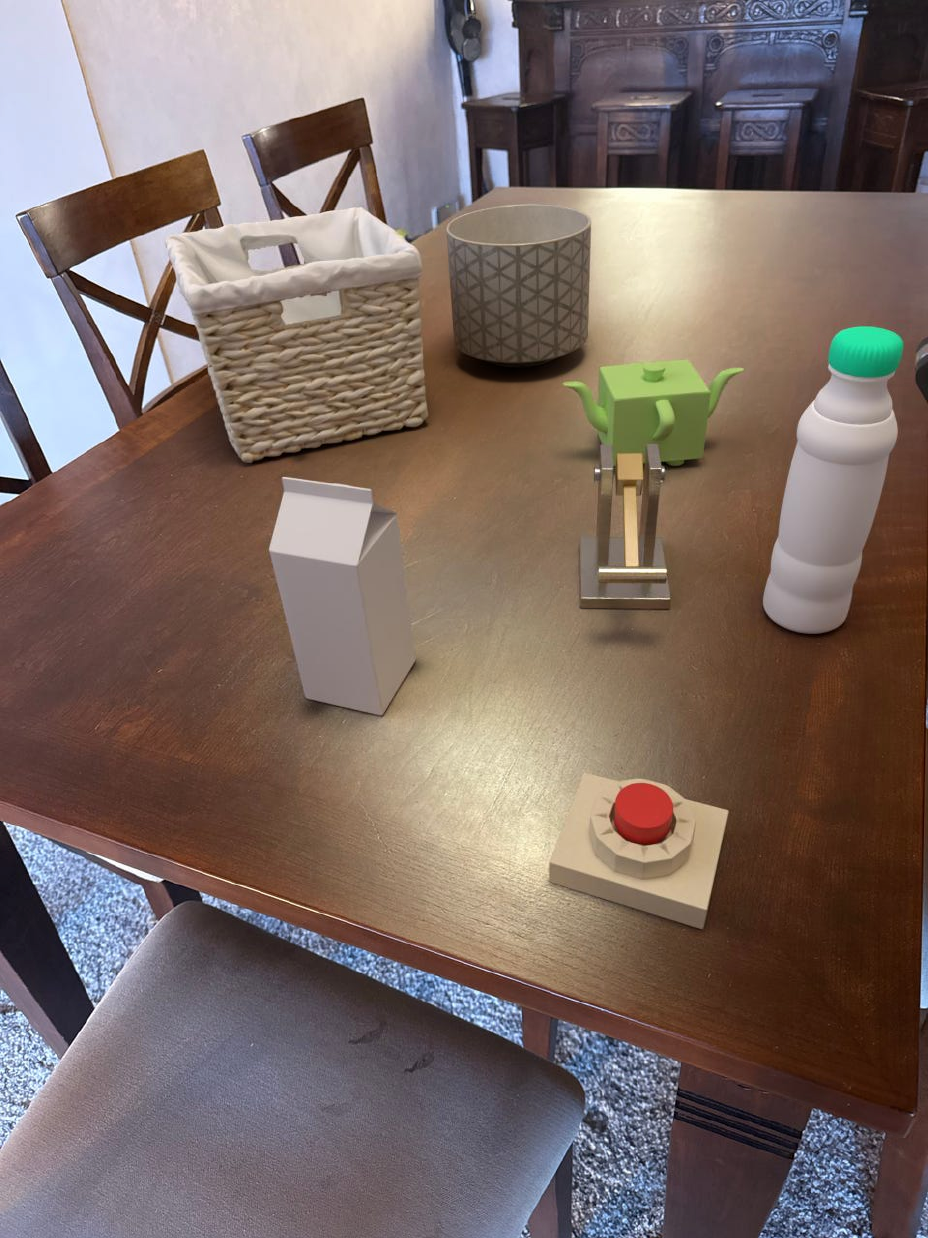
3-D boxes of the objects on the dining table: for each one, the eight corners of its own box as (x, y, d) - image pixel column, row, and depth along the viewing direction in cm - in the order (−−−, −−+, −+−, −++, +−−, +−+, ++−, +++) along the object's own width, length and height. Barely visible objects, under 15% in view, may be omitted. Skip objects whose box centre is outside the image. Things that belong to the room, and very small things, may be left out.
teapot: (733, 444, 101) (746, 356, 94) (681, 495, 93) (691, 403, 86) (618, 415, 108) (622, 331, 102) (560, 459, 100) (561, 372, 94)
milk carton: (383, 717, 69) (348, 516, 57) (305, 699, 72) (256, 502, 60) (417, 661, 74) (391, 465, 62) (343, 646, 77) (305, 454, 65)
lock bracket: (669, 609, 78) (683, 485, 70) (580, 608, 79) (584, 486, 71) (660, 546, 86) (672, 428, 77) (579, 546, 86) (582, 429, 78)
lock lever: (664, 589, 71) (668, 575, 69) (597, 588, 72) (598, 574, 70) (659, 469, 77) (662, 452, 74) (596, 469, 77) (597, 453, 75)
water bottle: (862, 616, 75) (946, 335, 60) (809, 648, 73) (882, 362, 57) (797, 578, 80) (858, 309, 64) (744, 608, 77) (795, 333, 62)
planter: (470, 392, 116) (462, 251, 105) (444, 341, 131) (434, 213, 119) (605, 372, 118) (611, 232, 107) (564, 325, 133) (566, 197, 122)
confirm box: (548, 882, 57) (548, 845, 54) (583, 792, 62) (584, 754, 60) (703, 930, 53) (710, 893, 51) (724, 830, 59) (732, 792, 56)
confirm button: (607, 835, 55) (608, 818, 54) (621, 794, 57) (623, 776, 56) (664, 852, 54) (666, 834, 53) (676, 808, 56) (678, 790, 55)
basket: (202, 388, 123) (159, 226, 109) (383, 353, 129) (364, 195, 115) (229, 474, 102) (180, 288, 89) (442, 427, 109) (426, 246, 95)
